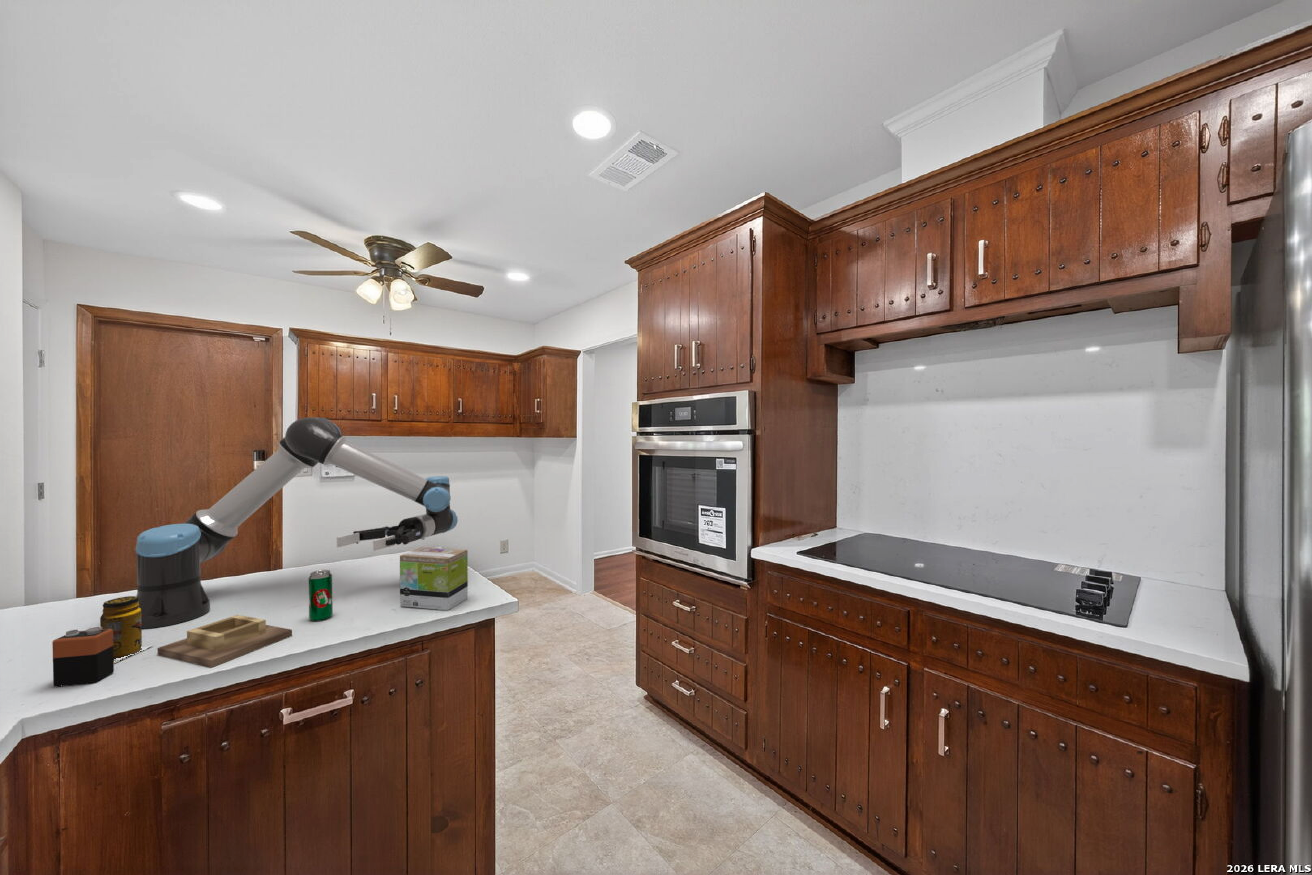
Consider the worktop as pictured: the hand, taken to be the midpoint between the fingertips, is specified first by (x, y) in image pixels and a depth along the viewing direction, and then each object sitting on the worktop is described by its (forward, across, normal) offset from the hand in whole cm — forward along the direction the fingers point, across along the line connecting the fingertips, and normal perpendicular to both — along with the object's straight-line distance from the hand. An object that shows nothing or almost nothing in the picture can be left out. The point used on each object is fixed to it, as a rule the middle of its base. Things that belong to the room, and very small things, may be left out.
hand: (355, 544), depth 134 cm
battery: (+47, +14, -17) cm, 52 cm away
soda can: (+10, 0, -17) cm, 20 cm away
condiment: (+39, +22, -17) cm, 48 cm away
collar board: (+28, +5, -17) cm, 33 cm away
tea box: (-8, -20, -18) cm, 28 cm away
